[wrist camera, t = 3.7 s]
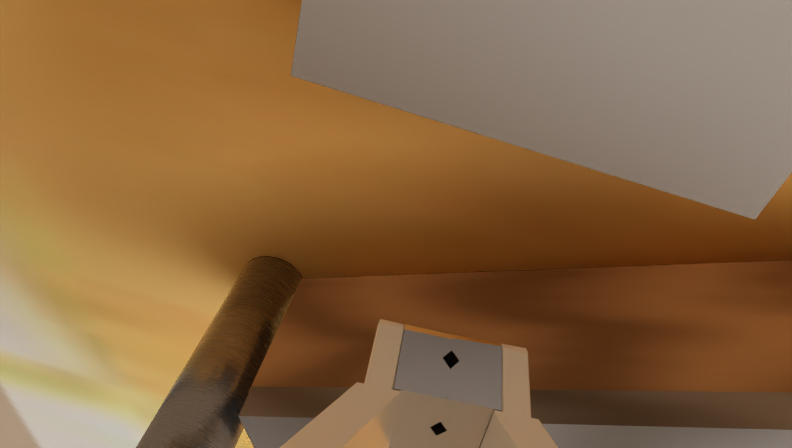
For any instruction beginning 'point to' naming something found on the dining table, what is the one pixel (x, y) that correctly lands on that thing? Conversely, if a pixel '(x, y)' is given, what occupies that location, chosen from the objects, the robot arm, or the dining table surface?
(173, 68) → the dining table surface
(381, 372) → the robot arm
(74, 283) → the dining table surface
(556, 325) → the gate
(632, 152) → the rubber block
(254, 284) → the hinge post
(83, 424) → the dining table surface
